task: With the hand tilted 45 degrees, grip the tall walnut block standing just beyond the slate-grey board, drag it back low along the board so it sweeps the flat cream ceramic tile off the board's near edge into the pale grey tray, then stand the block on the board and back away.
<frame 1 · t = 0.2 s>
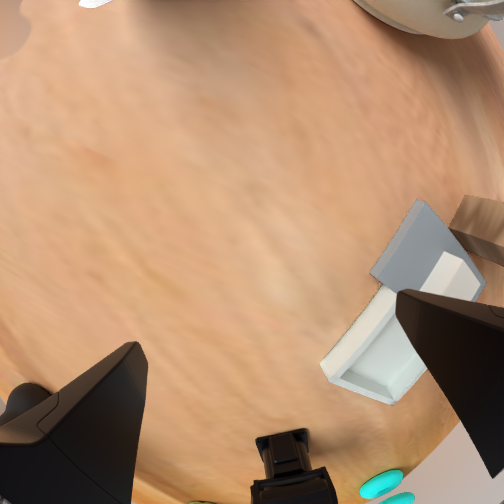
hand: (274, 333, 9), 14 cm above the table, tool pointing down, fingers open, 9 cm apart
tile: (442, 283, 24), point 1 cm above the table, touching board
cola bottle: (43, 399, 26), on the table
tray: (384, 345, 27), on the table
board: (435, 276, 25), on the table
donuts: (379, 479, 39), on the table
walnut block: (465, 223, 24), on the table
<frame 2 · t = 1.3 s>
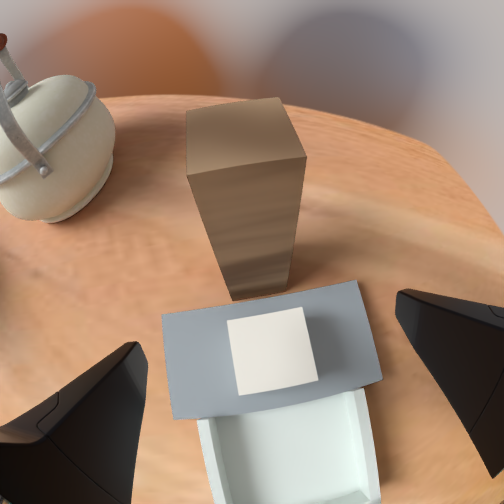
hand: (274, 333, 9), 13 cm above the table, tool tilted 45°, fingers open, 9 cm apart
tile: (271, 355, 19), point 1 cm above the table, touching board
kettle: (70, 176, 32), on the table
tray: (291, 463, 17), on the table
board: (270, 354, 21), on the table
walnut block: (254, 272, 24), on the table
when the fingers open (10 cm above the table, at t = 9.4 s): walnut block drops 1 cm, resting on board.
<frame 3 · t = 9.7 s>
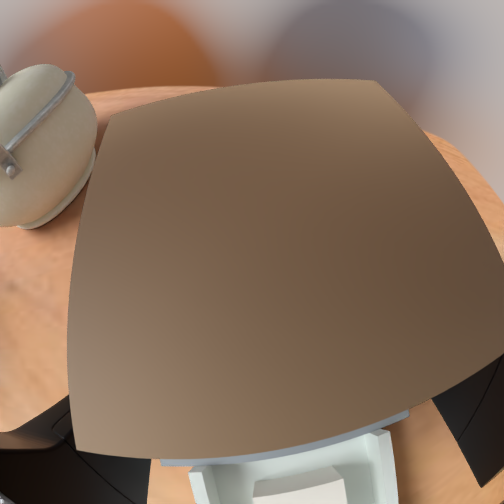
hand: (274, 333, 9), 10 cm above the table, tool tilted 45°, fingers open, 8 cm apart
tile: (299, 503, 12), resting on tray
kettle: (50, 177, 28), on the table
board: (276, 391, 16), on the table
walnut block: (271, 360, 16), point 2 cm above the table, touching board
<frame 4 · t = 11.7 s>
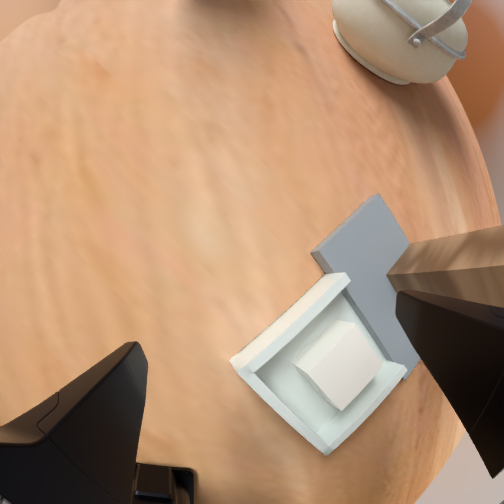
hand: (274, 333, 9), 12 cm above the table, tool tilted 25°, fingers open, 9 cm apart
tile: (329, 360, 21), resting on tray
kettle: (374, 44, 29), on the table
tray: (320, 365, 21), on the table
board: (387, 291, 24), on the table
walnut block: (409, 277, 23), point 1 cm above the table, touching board
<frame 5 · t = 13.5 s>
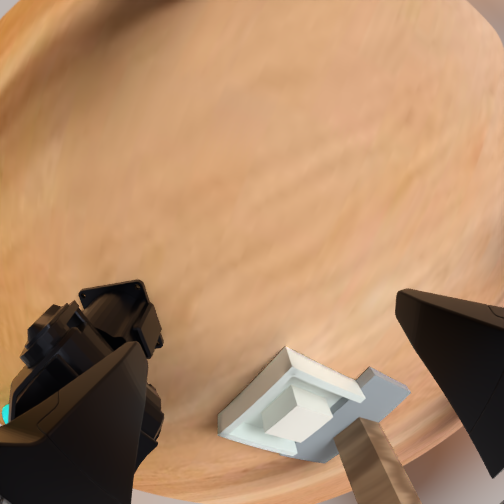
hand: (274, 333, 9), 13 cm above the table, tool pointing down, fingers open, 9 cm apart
tile: (293, 405, 26), resting on tray
tray: (287, 401, 27), on the table
board: (343, 419, 29), on the table
walnut block: (356, 430, 28), point 1 cm above the table, touching board
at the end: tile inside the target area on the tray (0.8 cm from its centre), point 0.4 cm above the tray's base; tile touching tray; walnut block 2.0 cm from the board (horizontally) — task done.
